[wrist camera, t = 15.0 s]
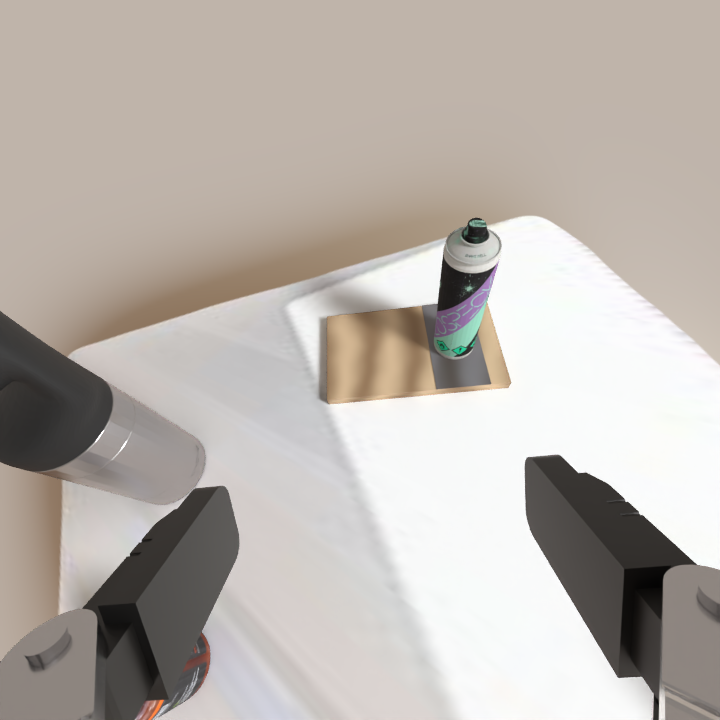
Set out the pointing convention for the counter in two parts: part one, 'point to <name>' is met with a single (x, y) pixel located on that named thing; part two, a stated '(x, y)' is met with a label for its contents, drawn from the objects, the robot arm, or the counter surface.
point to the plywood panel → (405, 357)
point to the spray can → (465, 287)
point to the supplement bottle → (182, 683)
